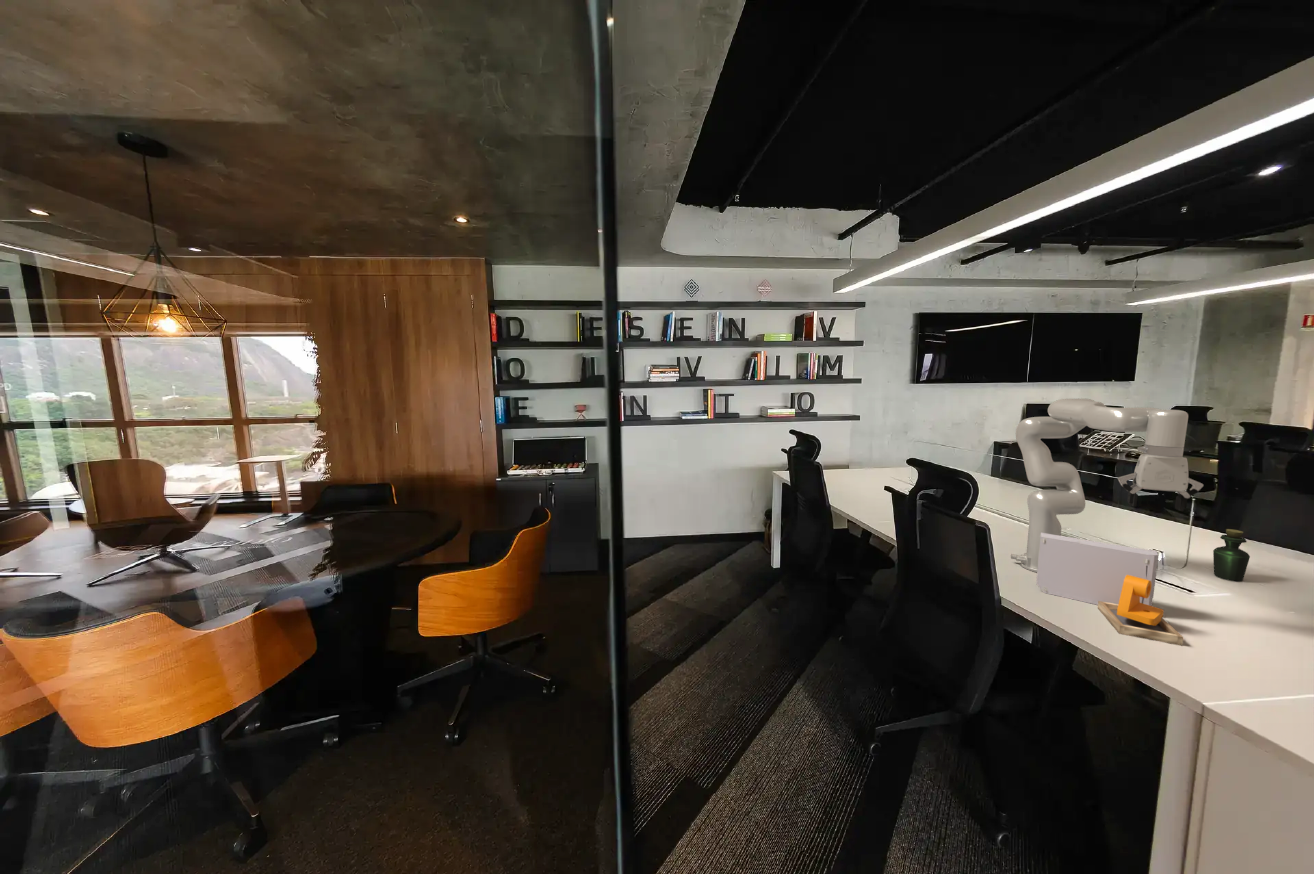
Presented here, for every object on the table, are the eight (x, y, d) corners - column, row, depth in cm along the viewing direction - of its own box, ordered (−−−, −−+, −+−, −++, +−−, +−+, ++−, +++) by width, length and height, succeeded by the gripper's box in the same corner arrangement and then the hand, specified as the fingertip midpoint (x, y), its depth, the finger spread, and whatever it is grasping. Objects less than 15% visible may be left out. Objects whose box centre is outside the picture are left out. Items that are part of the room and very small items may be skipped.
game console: (1152, 618, 134) (1159, 556, 131) (1035, 591, 152) (1040, 536, 150) (1149, 610, 138) (1156, 550, 136) (1036, 585, 156) (1040, 532, 154)
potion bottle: (1227, 573, 163) (1233, 527, 161) (1254, 583, 155) (1261, 534, 153) (1202, 573, 164) (1208, 527, 162) (1228, 582, 156) (1235, 534, 154)
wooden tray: (1119, 633, 126) (1119, 625, 125) (1097, 608, 140) (1098, 600, 140) (1182, 645, 119) (1183, 637, 119) (1153, 617, 134) (1154, 610, 133)
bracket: (1152, 628, 124) (1157, 588, 122) (1116, 617, 130) (1120, 579, 128) (1163, 618, 129) (1168, 579, 127) (1128, 607, 135) (1132, 571, 134)
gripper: (1127, 451, 129) (1120, 507, 131) (1214, 455, 120) (1205, 515, 122) (1117, 447, 135) (1110, 501, 137) (1199, 451, 126) (1191, 508, 129)
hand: (1155, 507), depth 130 cm, fingers open, 9 cm apart
